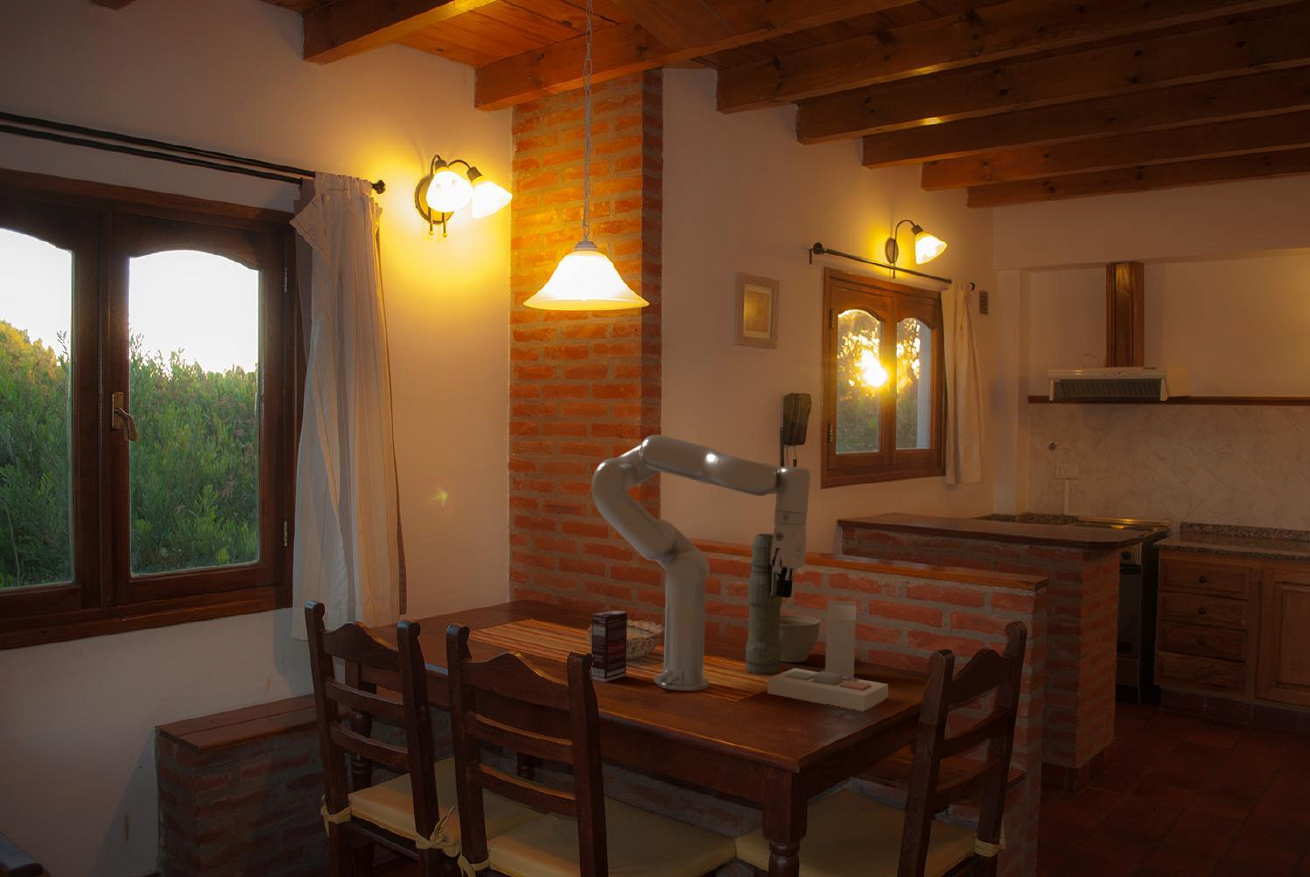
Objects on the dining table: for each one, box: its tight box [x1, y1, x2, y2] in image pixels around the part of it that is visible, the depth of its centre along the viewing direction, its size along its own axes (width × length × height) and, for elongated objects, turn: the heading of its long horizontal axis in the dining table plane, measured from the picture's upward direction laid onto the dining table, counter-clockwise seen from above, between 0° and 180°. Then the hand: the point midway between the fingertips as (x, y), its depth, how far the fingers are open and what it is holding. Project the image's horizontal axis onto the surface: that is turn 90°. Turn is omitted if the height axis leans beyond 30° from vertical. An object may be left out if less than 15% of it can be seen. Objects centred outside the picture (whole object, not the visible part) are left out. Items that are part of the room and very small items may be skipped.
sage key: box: [786, 671, 814, 681], centre depth 238 cm, size 5×5×2 cm
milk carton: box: [824, 599, 857, 678], centre depth 256 cm, size 7×7×19 cm
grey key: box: [813, 670, 842, 686], centre depth 234 cm, size 5×5×2 cm
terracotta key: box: [841, 681, 871, 691], centre depth 230 cm, size 5×5×2 cm
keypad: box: [766, 667, 889, 712], centre depth 234 cm, size 14×24×4 cm, turn 56°
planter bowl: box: [779, 614, 821, 663], centre depth 273 cm, size 16×16×11 cm
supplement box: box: [590, 610, 628, 683], centre depth 245 cm, size 9×5×16 cm, turn 145°
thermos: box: [745, 533, 783, 676], centre depth 258 cm, size 9×12×35 cm
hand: (783, 596), depth 237 cm, fingers closed
